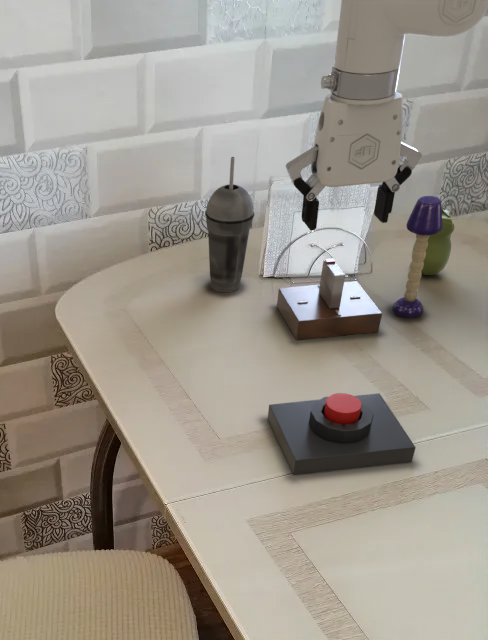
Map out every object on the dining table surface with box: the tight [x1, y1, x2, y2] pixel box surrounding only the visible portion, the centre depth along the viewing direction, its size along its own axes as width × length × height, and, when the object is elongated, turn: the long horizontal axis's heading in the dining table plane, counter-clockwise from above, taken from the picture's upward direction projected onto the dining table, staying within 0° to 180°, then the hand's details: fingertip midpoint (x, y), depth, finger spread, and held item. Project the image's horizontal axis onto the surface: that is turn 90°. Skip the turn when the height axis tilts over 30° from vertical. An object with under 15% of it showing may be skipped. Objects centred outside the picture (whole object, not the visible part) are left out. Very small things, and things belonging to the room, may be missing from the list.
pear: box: [411, 209, 455, 276], centre depth 123 cm, size 6×5×10 cm
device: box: [267, 392, 416, 476], centre depth 94 cm, size 14×11×4 cm
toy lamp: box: [392, 195, 443, 319], centre depth 112 cm, size 5×5×17 cm
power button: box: [324, 392, 362, 425], centre depth 92 cm, size 4×4×2 cm
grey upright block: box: [319, 258, 346, 308], centre depth 113 cm, size 5×2×5 cm, turn 7°
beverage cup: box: [204, 156, 255, 293], centre depth 119 cm, size 7×7×20 cm
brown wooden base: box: [276, 280, 383, 341], centre depth 115 cm, size 12×10×3 cm
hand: (345, 222), depth 106 cm, fingers open, 9 cm apart
